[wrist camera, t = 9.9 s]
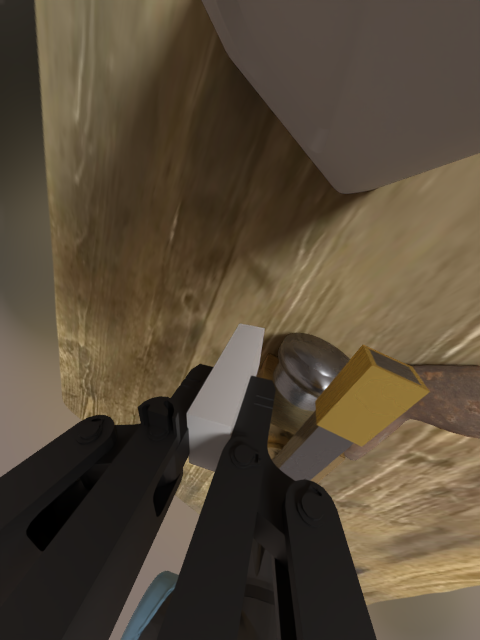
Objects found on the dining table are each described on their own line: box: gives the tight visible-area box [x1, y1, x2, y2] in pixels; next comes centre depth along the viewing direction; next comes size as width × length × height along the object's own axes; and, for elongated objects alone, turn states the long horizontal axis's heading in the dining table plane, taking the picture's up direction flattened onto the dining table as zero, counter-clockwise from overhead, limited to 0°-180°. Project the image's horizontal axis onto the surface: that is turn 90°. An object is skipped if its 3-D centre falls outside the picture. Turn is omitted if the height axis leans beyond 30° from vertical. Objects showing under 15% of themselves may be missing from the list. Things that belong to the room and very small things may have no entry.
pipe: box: [344, 365, 480, 460], centre depth 22 cm, size 6×17×10 cm
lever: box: [272, 345, 430, 481], centre depth 14 cm, size 16×3×2 cm, turn 159°
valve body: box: [256, 333, 350, 483], centre depth 23 cm, size 17×8×10 cm, turn 160°
